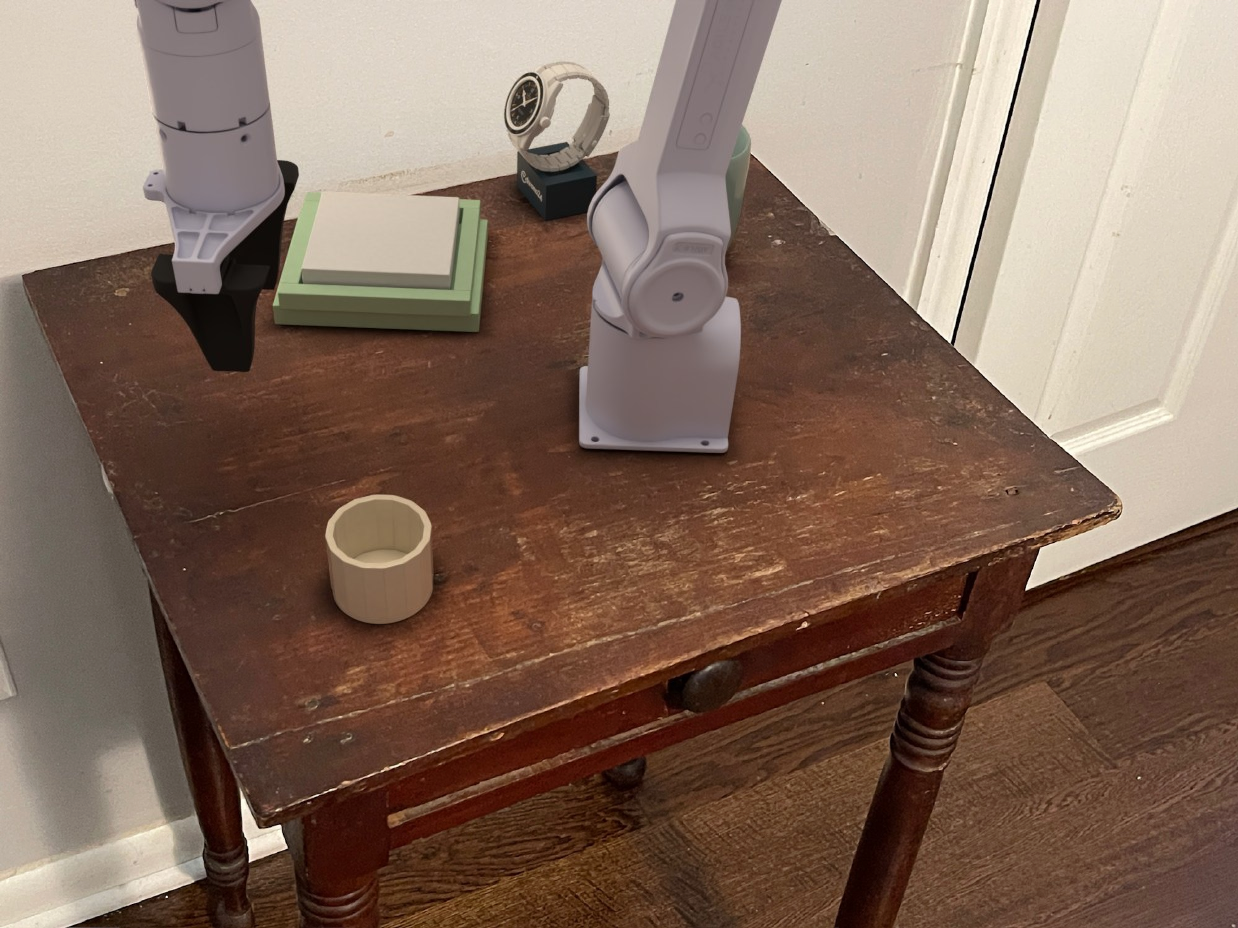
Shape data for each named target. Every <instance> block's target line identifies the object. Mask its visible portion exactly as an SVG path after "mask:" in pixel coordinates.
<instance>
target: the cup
mask: <svg viewBox="0 0 1238 928" xmlns="http://www.w3.org/2000/svg"><path fill="white" fill-rule="evenodd" d="M751 152H752V138H751V136H750V133H749V131H748V130H747V128H746V127H745V126H744V125H743V124H742V125H741V129H740V132H739V135H738V138H737V141H736V144H735V147H734V150H733V153H732V156H731V160H730V163H729V166H728V169H727V172H726V176H725V181H726V192H727V200H728V209H729V218H730V228H731V236H730V239H729V242H728V245H727V249H726V253H727V252H728V251H729V249H730V248H731V246H732V243H733V241H734V238H735V236H736V233H737V231H738V227H739V224H740V219H741V216H742V211H743V208H744V207H743V206H744V202H745V196H746V189H747V182H748V175H749V168H750V162H751V155H752V154H751Z"/></svg>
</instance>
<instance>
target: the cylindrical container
mask: <svg viewBox="0 0 1238 928" xmlns="http://www.w3.org/2000/svg"><path fill="white" fill-rule="evenodd" d="M324 537H325V546H326V555H327V563H328V564H327V566H328V573H329V580H330V588H331V589H332V597H333V600H334V602H335V603H336V606H338V608H339V609H340V610H341V611H342V612H343V613H344V614H346V615H347V616H349V617H350V618H352V619H354V620H355V621H359V622H363V623H365V624H374V625H386V624H393V623H397V622H400V621H401V622H402V621H404V620H406V619H408V618H411V617H412V616H414V615H416V614H417V613H418V612H420V611H421V610H422V609H423V608H424V607H425V606H426V604H427V603H428V602H429V600H430V598H431V597H432V594H433V590H434V575H435V573H434V572H435V571H434V551H433V550H434V549H433V548H434V547H433V546H434V545H433V525H432V522H431V520H430V518H429V516H428V514H427V511H425V509H423V508H421V507H420V505H418V504H417V503H415V502H414V501H413V500H411V499H408V498H405V497H401V496H398V495H396V494H395V495H394V494H370V495H366V496H361V497H358V498H355V499H353V500H351V501H349V502H348V503H345V504H343V505H342V506H340V507H339V508H338V509H337V510H336V511H335V512H334V514H332V516H331V517H330V518H329V519H328V521H327V524H326V530H325V534H324Z"/></svg>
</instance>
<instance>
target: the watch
mask: <svg viewBox="0 0 1238 928" xmlns="http://www.w3.org/2000/svg"><path fill="white" fill-rule="evenodd" d="M576 79H580V80H584V81H588V82H590V83H591V84H592V87H593V95H592V97H591V102H590V103H588V106H587V109H586V111H585V114H584V116H583V118H582V121H581V123H580V125H579V126H578V128H577V130H576V131H575V133H574V134H573V136H572V140H573V141H572V142H571V143H570V144H569V143H568V142H567V141H564V142H559V143H553V144H548V145H543V146H537V147H533V148H532V147H531V145H532V143H533V141H534V139H535V138H537V137H538V136H540V134H542V133H543V132H544V131H545V130H546V129H548V128H550V126H551V124H552V121H551V120H552V118H553V115H554V112H555V106H556V102H557V97H558V96H559V93H561V91H562V90H563V87H564V83H563V82H565V81H567V80H576ZM610 116H611V114H610V98H609V94H608V92H607V90H606V89H605V87H604V85H603V84H602V83H601V82H600V81H599V80H598V79H597V78H596V77H595V76H594V75H593V74H592V73H591V72H590V71H589V70H588V69H587V68H585V67H584V66H583V65H582V64H579V63H575V62H572V61H555V62H550V63H546V64H541V65H539V66H538V67H536V68H535V69H534V70H530V71H527V72H524V73H523V74H521V75H520V76H519V77H518V78H517V79H516V80H515V82H514V83H513V84H512V86H511V88H510V90H509V92H508V94H507V97H506V100H505V104H504V109H503V121H504V126H505V128H506V132H507V136H508V138H509V140H510V142H511V143H512V145H513V147H514V148H515V149H516V150H517V152H516V153H517V154H516V187H517V188H518V189H519V191H520V192H521V193H522V195H524V197H525V198H526V199H527V201H529V203H530V204H531V205H532V207H533V208H534V209H535V211H537V213H538V214H539V216H541V218H542V219H543V220H544V221H546V222H547V221H552V220H557V219H560V218H564V217H570V216H573V215H575V216H576V215H580V214H582V213H583V214H584V213H588V209H589V205H590V203H591V201H592V199H593V197H594V195H595V194H596V192H597V186H598V185H597V184H598V175H597V173H596V172H595V171H594V170H593V169H592V168H591V167H590V166H589V165H588V163H587V162H586V161H585V160H584V158H585V157H586V158H587V157H588V158H589V156H591V154H592V152H593V151H594V150H595V148H596V147H597V145H598V144H599V142H600V140H601V138H602V136H603V134H604V132H605V130H606V128H607V126H608V123H609V119H610ZM530 147H531V148H530Z"/></svg>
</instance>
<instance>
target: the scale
mask: <svg viewBox="0 0 1238 928" xmlns="http://www.w3.org/2000/svg"><path fill="white" fill-rule="evenodd" d="M321 194H322V192H310V191H309V192H308V191H307V192H306V193H305V196H304V200H303V202H302V206H301V210H300V211H299V213H298V216H297V220H296V223H295V227H294V230H293V232H292V233H293V234H292V237H291V241H290V244H289V248H288V251H287V255H286V258H285V261H284V265H283V269H282V272H281V276H280V279H279V283H278V286H277V289H276V293H275V296H274V300H273V303H272V311H273V319H274V324H275V325H284V326H285V325H287V326H311V327H313V326H314V327H316V326H317V327H335V328H337V327H339V328H340V327H342V328H365V329H389V330H413V331H414V330H415V331H436V332H437V331H438V332H439V331H440V332H441V331H442V332H466V333H467V332H468V333H479V332H480V323H481V315H482V302H483V292H484V281H485V271H486V261H487V259H486V258H487V249H488V248H487V247H488V238H489V220H488V219H485V218H484V219H483V218H482V219H481V213H482V211H481V210H482V209H481V208H482V203H481V200H480V199H467V198H465V199H464V198H459V199H460V218H459V226H458V234H457V242H456V250H455V258H454V266H453V274H452V282H451V290H438V289H414V288H390V287H365V286H341V285H317V284H303V279H302V270H301V268H302V265H303V261H304V257H305V254H306V250H307V246H308V243H309V239H310V235H311V231H312V228H313V224H314V220H315V217H316V213H317V209H318V206H319V202H320V198H321Z"/></svg>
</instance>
